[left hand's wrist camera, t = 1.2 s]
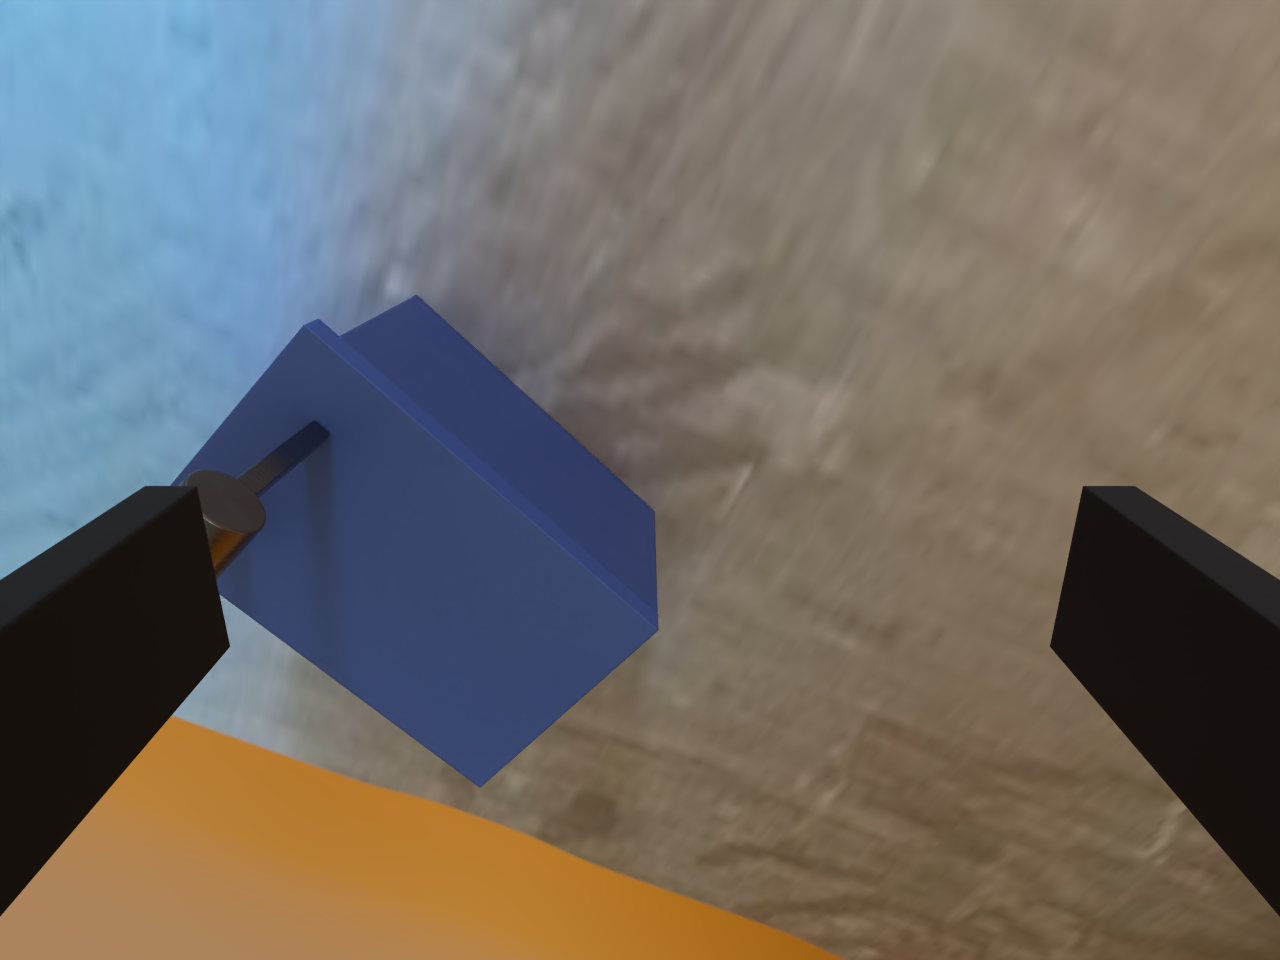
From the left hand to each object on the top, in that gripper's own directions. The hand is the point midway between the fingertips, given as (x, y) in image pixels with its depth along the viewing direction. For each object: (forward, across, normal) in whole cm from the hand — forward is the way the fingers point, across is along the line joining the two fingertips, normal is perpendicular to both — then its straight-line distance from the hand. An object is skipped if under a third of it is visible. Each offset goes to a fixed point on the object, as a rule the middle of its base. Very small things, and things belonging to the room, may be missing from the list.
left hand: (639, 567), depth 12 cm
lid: (+16, -8, -8) cm, 20 cm away
